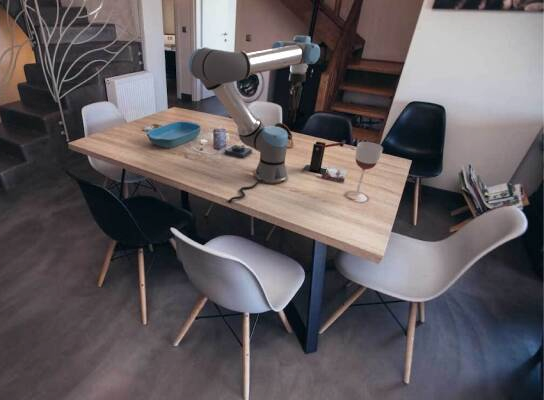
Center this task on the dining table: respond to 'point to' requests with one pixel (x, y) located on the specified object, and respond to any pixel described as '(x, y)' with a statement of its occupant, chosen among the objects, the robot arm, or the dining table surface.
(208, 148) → the dining table surface
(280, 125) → the sword hilt
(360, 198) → the wineglass
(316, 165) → the bracket
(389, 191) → the dining table surface
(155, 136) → the casserole dish
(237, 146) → the button
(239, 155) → the button box
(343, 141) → the lever
